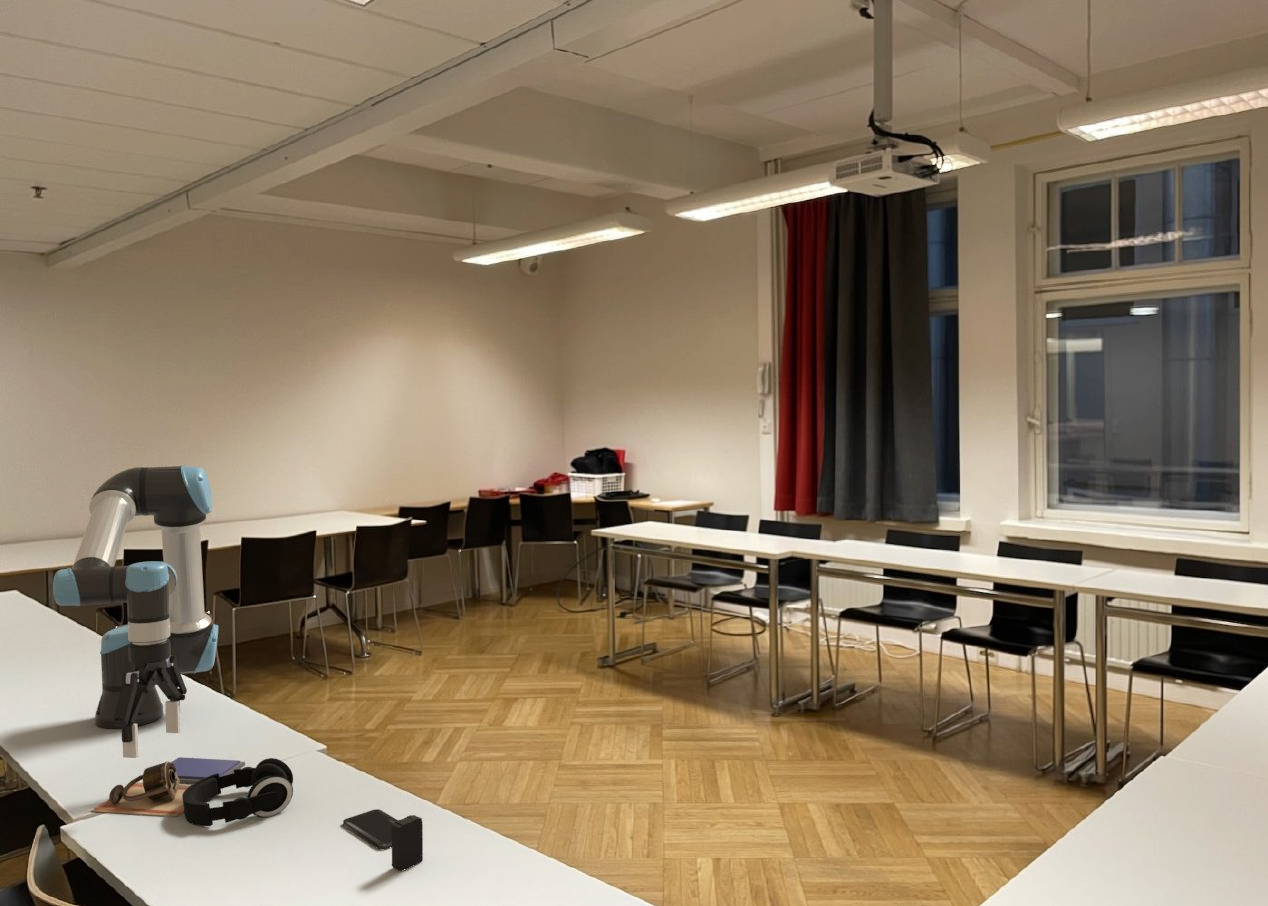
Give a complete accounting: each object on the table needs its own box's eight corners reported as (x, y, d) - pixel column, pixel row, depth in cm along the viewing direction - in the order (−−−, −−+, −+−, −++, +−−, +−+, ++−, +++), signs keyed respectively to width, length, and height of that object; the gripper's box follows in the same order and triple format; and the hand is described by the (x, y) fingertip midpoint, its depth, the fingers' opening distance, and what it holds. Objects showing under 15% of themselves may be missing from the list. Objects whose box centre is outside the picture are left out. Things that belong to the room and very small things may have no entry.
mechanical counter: (159, 785, 187) (189, 755, 197) (99, 775, 189) (132, 746, 198) (161, 816, 189) (192, 786, 199) (102, 806, 191) (135, 776, 201)
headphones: (289, 778, 184) (174, 803, 178) (295, 818, 185) (180, 844, 179) (291, 746, 201) (186, 769, 195) (297, 783, 202) (192, 807, 196)
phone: (381, 847, 172) (340, 820, 183) (381, 853, 172) (341, 826, 183) (419, 833, 178) (378, 807, 188) (419, 839, 178) (378, 813, 188)
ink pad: (177, 761, 214) (177, 756, 214) (245, 765, 212) (245, 759, 212) (146, 780, 204) (146, 775, 204) (216, 785, 201) (216, 779, 201)
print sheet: (137, 783, 202) (137, 782, 202) (217, 788, 200) (217, 786, 200) (90, 811, 188) (90, 810, 188) (176, 817, 186) (176, 816, 186)
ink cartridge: (414, 857, 170) (414, 813, 169) (423, 861, 168) (422, 816, 168) (391, 868, 166) (390, 822, 165) (399, 872, 164) (399, 826, 164)
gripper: (170, 624, 206) (173, 722, 207) (88, 656, 181) (93, 767, 183) (202, 625, 205) (205, 723, 206) (125, 658, 180) (129, 769, 182)
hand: (152, 744), depth 194 cm, fingers open, 13 cm apart
